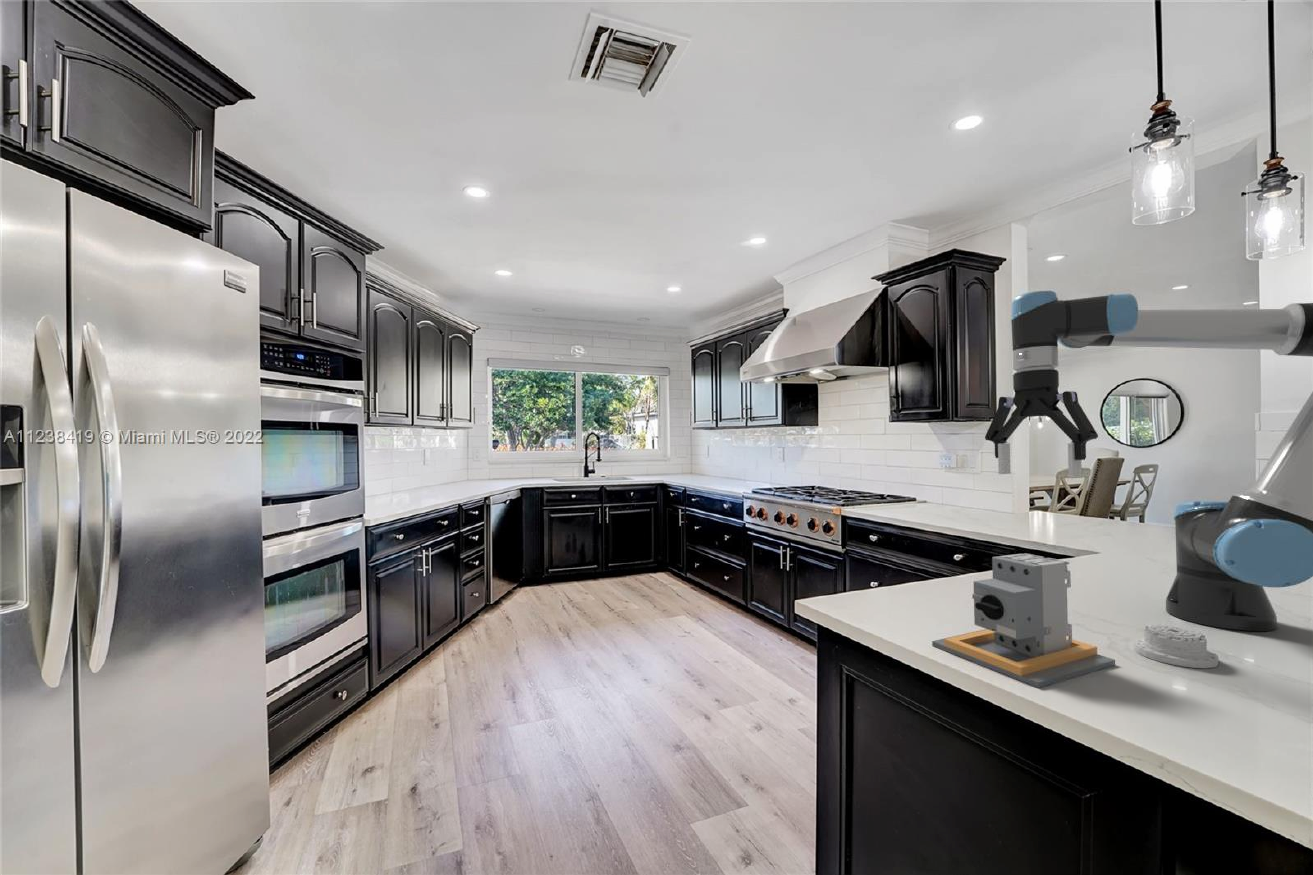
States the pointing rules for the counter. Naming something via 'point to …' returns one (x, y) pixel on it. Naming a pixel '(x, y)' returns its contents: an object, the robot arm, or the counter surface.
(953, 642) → the base
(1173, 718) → the counter surface
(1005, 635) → the circuit breaker
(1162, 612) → the counter surface
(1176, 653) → the mechanical component
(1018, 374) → the robot arm
